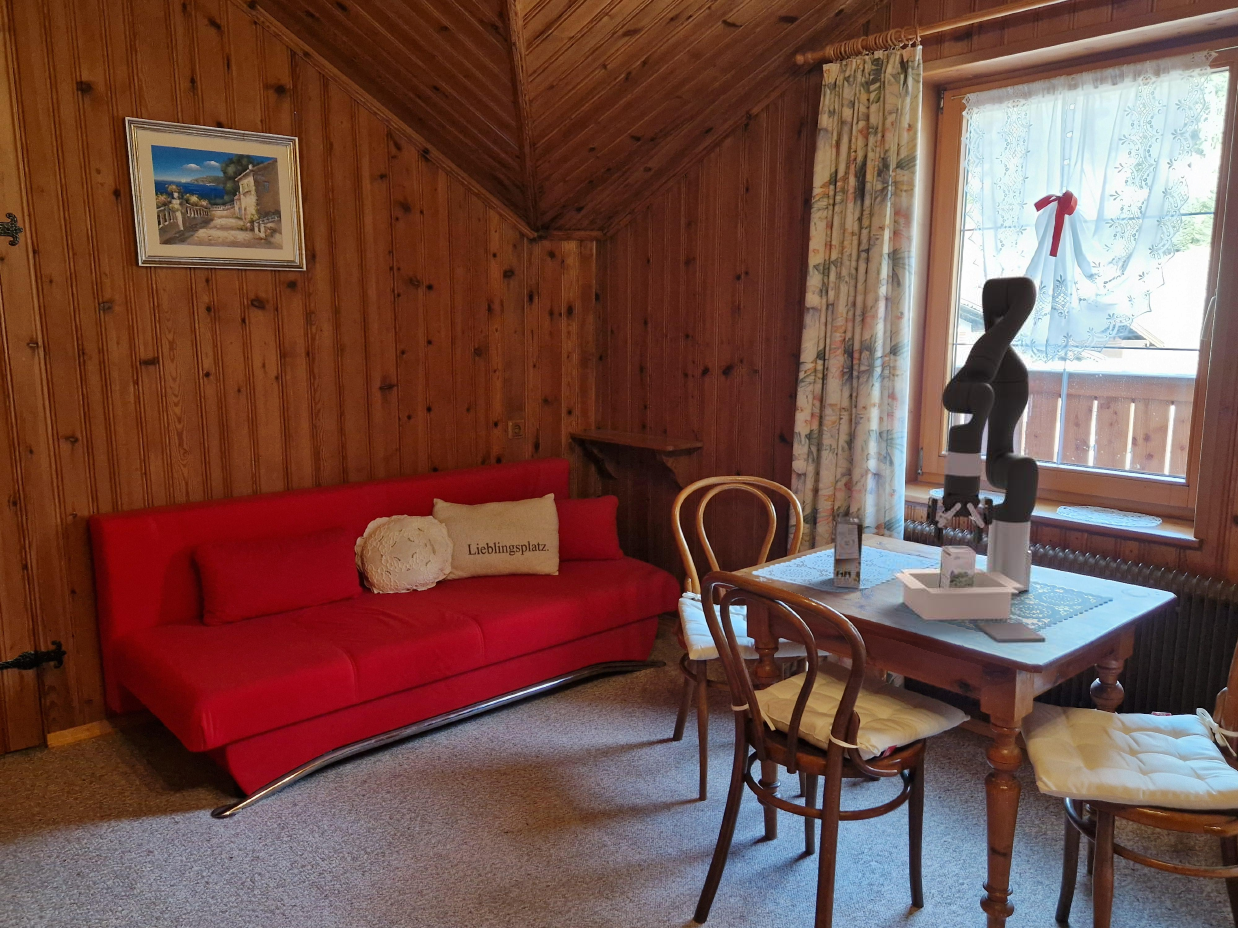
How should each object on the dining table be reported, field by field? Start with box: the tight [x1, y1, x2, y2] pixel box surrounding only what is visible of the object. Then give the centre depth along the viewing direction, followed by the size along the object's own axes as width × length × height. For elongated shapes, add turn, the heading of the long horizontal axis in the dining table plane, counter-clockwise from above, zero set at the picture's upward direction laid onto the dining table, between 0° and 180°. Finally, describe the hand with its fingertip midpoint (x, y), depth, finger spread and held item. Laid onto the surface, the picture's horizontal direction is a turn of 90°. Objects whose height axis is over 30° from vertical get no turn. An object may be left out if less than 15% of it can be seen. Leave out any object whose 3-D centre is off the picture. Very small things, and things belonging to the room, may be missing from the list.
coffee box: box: [833, 516, 864, 589], centre depth 228 cm, size 9×6×16 cm
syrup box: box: [939, 545, 977, 588], centre depth 207 cm, size 6×6×14 cm
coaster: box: [975, 621, 1046, 643], centre depth 192 cm, size 10×10×1 cm
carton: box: [892, 567, 1024, 621], centre depth 207 cm, size 25×19×7 cm
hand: (957, 543), depth 205 cm, fingers open, 8 cm apart
